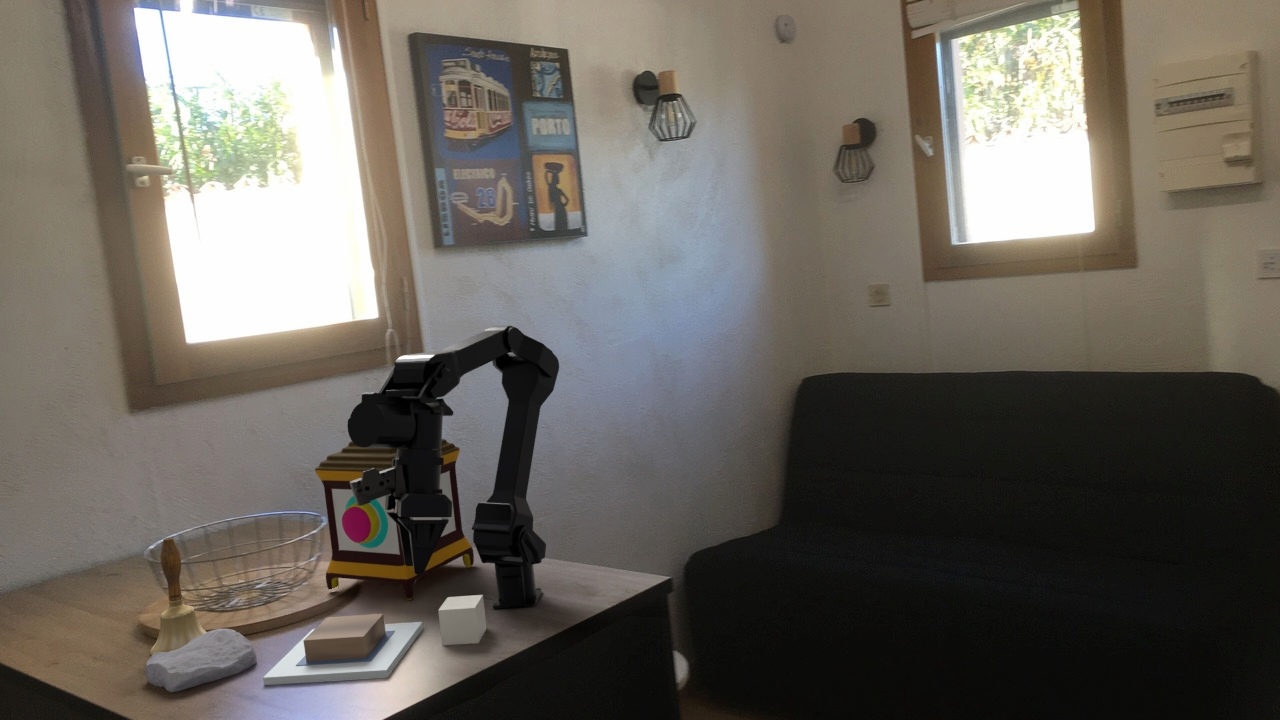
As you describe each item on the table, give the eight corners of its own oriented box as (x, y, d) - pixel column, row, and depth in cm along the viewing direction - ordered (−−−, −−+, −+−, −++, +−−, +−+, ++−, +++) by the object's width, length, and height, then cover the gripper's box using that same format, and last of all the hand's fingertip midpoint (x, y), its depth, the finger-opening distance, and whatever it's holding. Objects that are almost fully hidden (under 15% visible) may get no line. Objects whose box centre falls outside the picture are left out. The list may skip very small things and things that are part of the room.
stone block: (266, 675, 129) (228, 648, 135) (264, 644, 128) (225, 617, 134) (179, 715, 120) (142, 684, 126) (176, 682, 119) (138, 651, 125)
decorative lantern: (396, 557, 173) (376, 393, 170) (486, 563, 164) (468, 391, 161) (314, 596, 155) (291, 413, 152) (411, 605, 146) (388, 412, 143)
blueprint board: (313, 635, 137) (310, 608, 137) (423, 628, 136) (419, 601, 136) (264, 685, 121) (259, 654, 121) (387, 677, 120) (383, 647, 120)
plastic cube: (451, 631, 135) (447, 597, 134) (486, 629, 134) (482, 594, 134) (442, 645, 130) (438, 610, 129) (478, 643, 129) (474, 607, 129)
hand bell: (153, 643, 140) (138, 537, 138) (215, 631, 143) (201, 527, 141) (146, 664, 132) (130, 551, 131) (211, 650, 135) (196, 540, 134)
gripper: (350, 448, 132) (344, 563, 130) (361, 447, 115) (355, 580, 113) (432, 449, 136) (427, 561, 134) (455, 449, 118) (449, 578, 117)
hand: (413, 569), depth 124 cm, fingers open, 9 cm apart
